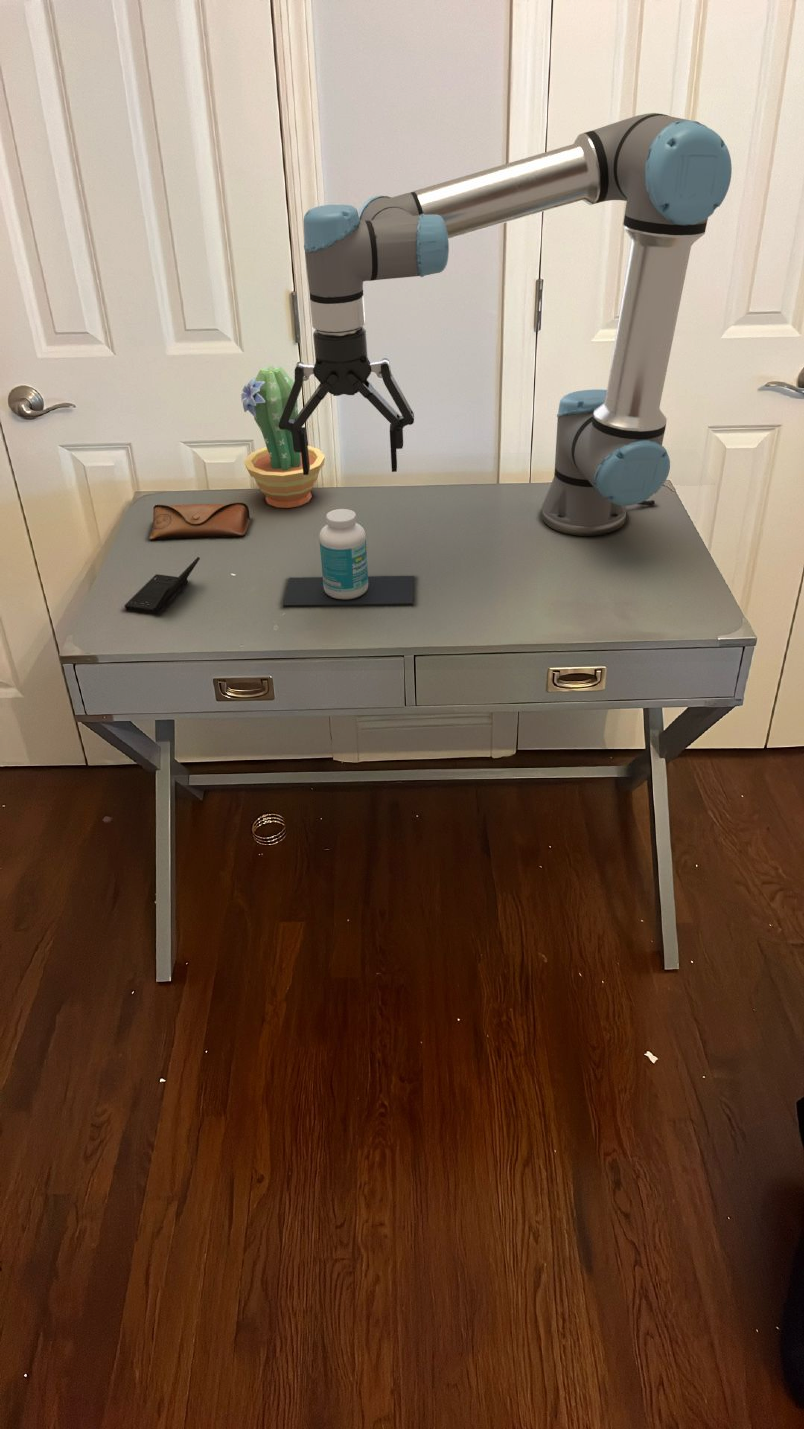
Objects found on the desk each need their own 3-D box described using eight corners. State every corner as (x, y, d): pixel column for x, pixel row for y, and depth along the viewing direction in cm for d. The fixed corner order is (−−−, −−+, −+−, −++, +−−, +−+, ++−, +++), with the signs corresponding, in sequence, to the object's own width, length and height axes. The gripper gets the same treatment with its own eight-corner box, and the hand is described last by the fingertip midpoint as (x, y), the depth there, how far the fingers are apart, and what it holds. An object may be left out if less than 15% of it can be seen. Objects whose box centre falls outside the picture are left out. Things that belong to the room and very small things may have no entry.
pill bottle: (363, 603, 161) (358, 527, 152) (318, 599, 162) (311, 524, 154) (373, 580, 166) (368, 506, 158) (330, 577, 168) (324, 503, 160)
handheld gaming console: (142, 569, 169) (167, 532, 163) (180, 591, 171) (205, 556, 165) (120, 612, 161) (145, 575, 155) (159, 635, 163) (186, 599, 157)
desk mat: (413, 577, 168) (413, 575, 167) (412, 605, 160) (412, 603, 160) (289, 579, 168) (289, 577, 168) (283, 607, 161) (283, 605, 161)
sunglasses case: (147, 539, 181) (144, 502, 180) (156, 542, 188) (153, 506, 187) (246, 535, 181) (244, 498, 180) (251, 538, 188) (249, 502, 187)
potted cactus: (251, 483, 200) (235, 357, 185) (328, 479, 201) (317, 353, 186) (246, 517, 188) (228, 385, 173) (328, 512, 188) (317, 381, 173)
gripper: (427, 317, 143) (431, 457, 156) (255, 324, 144) (273, 462, 157) (427, 332, 137) (431, 477, 150) (247, 339, 138) (267, 482, 151)
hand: (350, 470), depth 154 cm, fingers open, 13 cm apart
